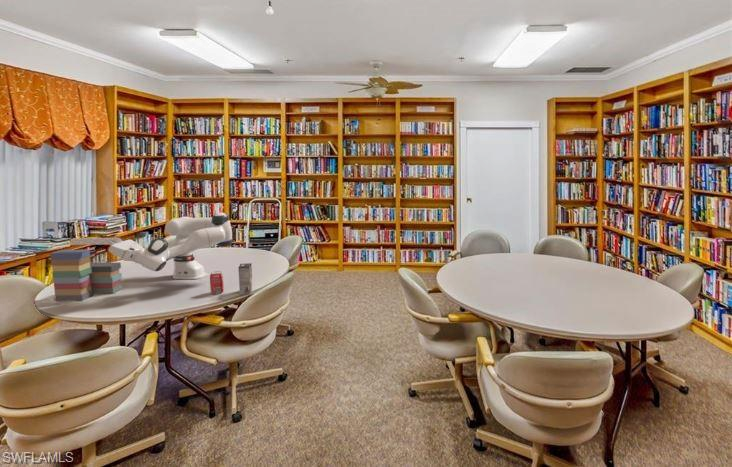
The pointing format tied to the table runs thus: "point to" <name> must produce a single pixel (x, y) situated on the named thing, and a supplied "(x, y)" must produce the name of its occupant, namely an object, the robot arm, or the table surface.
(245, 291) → the coffee box
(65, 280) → the tall book stack
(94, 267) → the short book stack
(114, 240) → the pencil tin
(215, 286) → the soda can
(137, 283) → the table surface
